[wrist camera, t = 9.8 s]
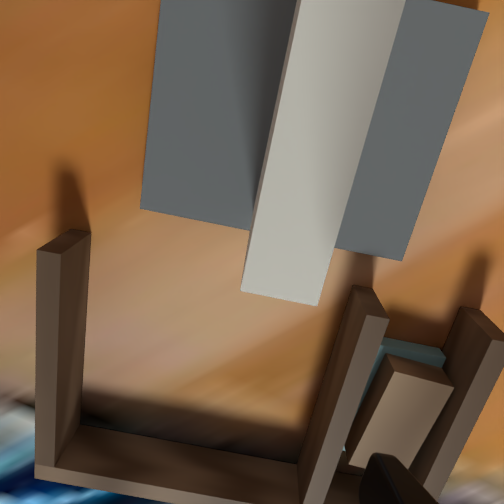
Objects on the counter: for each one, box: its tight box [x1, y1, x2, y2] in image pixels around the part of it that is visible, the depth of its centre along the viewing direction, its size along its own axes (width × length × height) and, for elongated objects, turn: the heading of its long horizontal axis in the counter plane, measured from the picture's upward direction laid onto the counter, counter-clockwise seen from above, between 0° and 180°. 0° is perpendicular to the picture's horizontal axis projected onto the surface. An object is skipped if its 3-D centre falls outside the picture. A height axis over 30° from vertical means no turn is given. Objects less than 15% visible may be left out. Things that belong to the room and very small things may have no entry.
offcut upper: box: [344, 353, 455, 469], centre depth 20 cm, size 3×6×2 cm, turn 164°
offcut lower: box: [342, 337, 446, 451], centre depth 22 cm, size 4×7×2 cm, turn 169°
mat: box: [140, 0, 489, 261], centre depth 17 cm, size 12×10×1 cm
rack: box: [35, 229, 504, 504], centre depth 20 cm, size 20×13×3 cm, turn 79°
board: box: [240, 0, 406, 306], centre depth 12 cm, size 2×9×8 cm, turn 169°
